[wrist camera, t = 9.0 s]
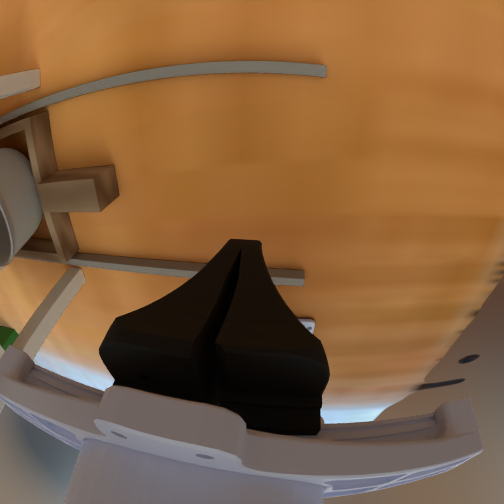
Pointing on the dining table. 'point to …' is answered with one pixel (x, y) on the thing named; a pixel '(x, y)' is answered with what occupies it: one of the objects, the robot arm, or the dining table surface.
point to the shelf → (74, 277)
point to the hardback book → (6, 345)
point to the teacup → (16, 203)
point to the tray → (60, 190)
